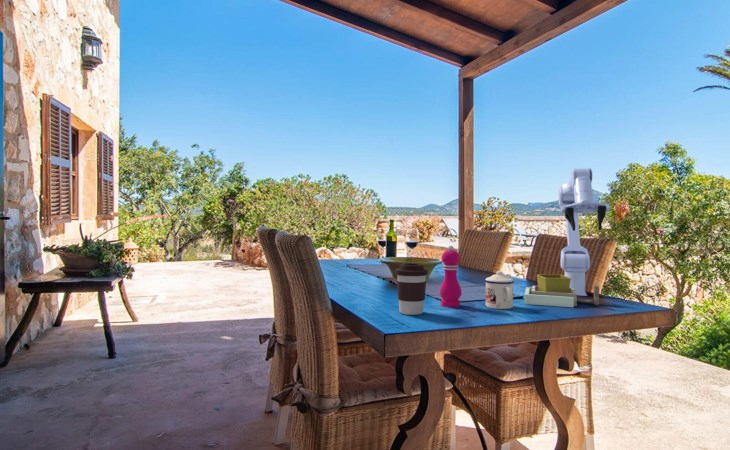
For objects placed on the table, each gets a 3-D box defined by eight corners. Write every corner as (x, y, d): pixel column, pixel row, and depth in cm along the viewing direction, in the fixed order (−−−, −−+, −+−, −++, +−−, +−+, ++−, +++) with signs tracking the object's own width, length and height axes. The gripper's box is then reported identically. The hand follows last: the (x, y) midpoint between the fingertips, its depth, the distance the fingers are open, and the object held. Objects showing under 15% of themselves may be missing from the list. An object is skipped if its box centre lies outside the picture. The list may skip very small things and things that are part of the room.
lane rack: (526, 295, 170) (526, 287, 170) (570, 298, 165) (570, 289, 165) (524, 304, 154) (524, 294, 154) (573, 307, 149) (573, 297, 148)
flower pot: (571, 304, 154) (571, 277, 154) (545, 303, 155) (545, 277, 154) (560, 299, 163) (560, 274, 163) (536, 299, 163) (536, 274, 163)
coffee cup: (401, 317, 133) (401, 266, 133) (390, 310, 143) (391, 262, 142) (432, 315, 136) (433, 265, 136) (420, 308, 145) (420, 262, 145)
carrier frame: (532, 296, 168) (532, 280, 168) (595, 300, 160) (596, 283, 160) (531, 303, 155) (531, 285, 155) (600, 307, 147) (600, 289, 147)
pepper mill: (460, 303, 154) (460, 245, 154) (462, 308, 147) (463, 246, 147) (438, 303, 155) (439, 244, 154) (440, 307, 148) (440, 246, 147)
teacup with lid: (480, 304, 153) (480, 270, 153) (504, 303, 155) (505, 269, 154) (497, 311, 141) (497, 274, 141) (523, 310, 143) (524, 274, 143)
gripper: (560, 190, 155) (563, 222, 147) (608, 187, 150) (613, 220, 142) (560, 203, 160) (562, 234, 152) (606, 201, 155) (611, 233, 147)
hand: (587, 228), depth 148 cm, fingers open, 7 cm apart
